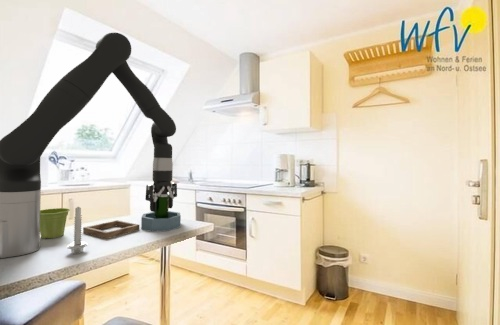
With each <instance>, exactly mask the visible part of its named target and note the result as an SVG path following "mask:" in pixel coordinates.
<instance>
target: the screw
mask: <svg viewBox="0 0 500 325" xmlns="http://www.w3.org/2000/svg"><path fill="white" fill-rule="evenodd" d="M74 209H75V210H74V211H75V214H74V217H73V218H74V219H73V220H74V223H73V224H74V225H73V228H74V232H73V233H74V234H73V242H71V243H69V244H68V245H67V246H66V248H67V249H70V251H71V252H70V253H71V254H73V255H76V254H77V255H78V254H81V253H84V248H86V247H88V245H89V244H88V243H87V242H86V241H82V233H83V231H82V230H83V228H82V220H83V219H82V216H83V215H82V208H81V207H80V206H76V207H75V208H74Z"/></svg>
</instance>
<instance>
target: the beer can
mask: <svg viewBox="0 0 500 325" xmlns="http://www.w3.org/2000/svg"><path fill="white" fill-rule="evenodd" d="M168 203H169V196H168V193H167V194H161V195H160V197H158V198H157V200H156V211H155V212H154V219H156V218H168V211H169V208H168Z"/></svg>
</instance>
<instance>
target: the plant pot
mask: <svg viewBox="0 0 500 325" xmlns="http://www.w3.org/2000/svg"><path fill="white" fill-rule="evenodd" d="M70 210H71V209H70V208H67V207H66V208H65V207H63V208H62V207H58V208H57V207H54V208H46V209H40V239H43V240H44V239H55V238H60V237H62V236H63V235H64V234H65V228H66V223H67V218H68V215H69V212H70Z"/></svg>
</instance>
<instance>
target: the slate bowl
mask: <svg viewBox="0 0 500 325" xmlns="http://www.w3.org/2000/svg"><path fill="white" fill-rule="evenodd" d="M140 221H141V224H140V225H141V227H140V229H141V230H144V231H148V232H164V231H165V232H167V231H168V232H169V231H173V230H175V229H179V228H181V221H182V220H181V213H180V212H179V211H178V212H177V211H172V210H168V218H156V219H154V212H152V211H150V212H147V213H143V214H142V215H141V220H140Z"/></svg>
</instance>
